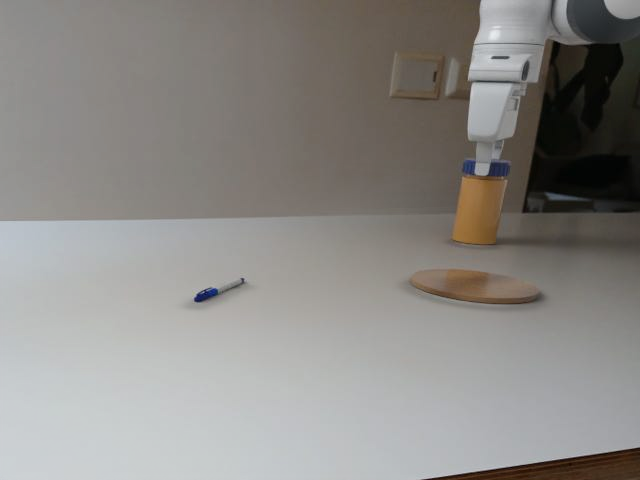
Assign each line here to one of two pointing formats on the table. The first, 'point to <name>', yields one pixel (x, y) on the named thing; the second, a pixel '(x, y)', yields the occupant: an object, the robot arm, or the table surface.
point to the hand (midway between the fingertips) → (485, 173)
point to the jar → (479, 209)
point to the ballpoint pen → (216, 290)
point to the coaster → (475, 286)
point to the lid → (496, 170)
